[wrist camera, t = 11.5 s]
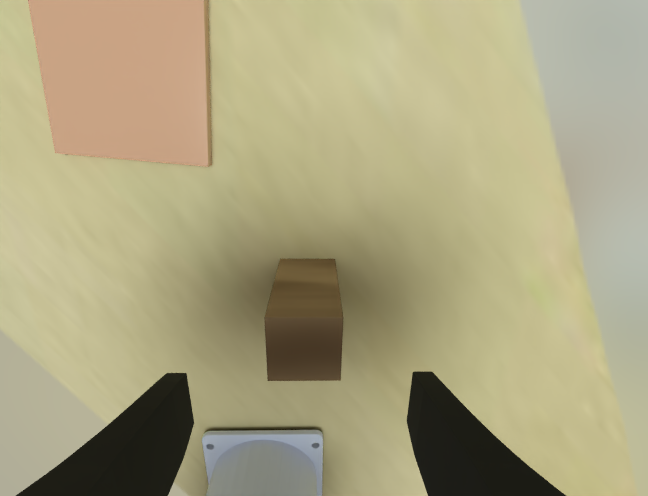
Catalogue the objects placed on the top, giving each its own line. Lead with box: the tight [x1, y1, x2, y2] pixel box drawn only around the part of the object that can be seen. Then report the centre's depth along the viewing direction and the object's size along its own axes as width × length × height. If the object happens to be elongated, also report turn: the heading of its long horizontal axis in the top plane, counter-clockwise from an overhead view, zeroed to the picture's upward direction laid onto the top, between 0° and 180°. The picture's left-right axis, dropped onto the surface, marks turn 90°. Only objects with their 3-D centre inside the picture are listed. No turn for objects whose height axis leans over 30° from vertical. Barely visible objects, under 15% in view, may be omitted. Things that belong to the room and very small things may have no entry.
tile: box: [28, 0, 212, 167], centre depth 15 cm, size 1×7×8 cm
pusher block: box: [265, 259, 343, 381], centre depth 16 cm, size 3×3×6 cm
